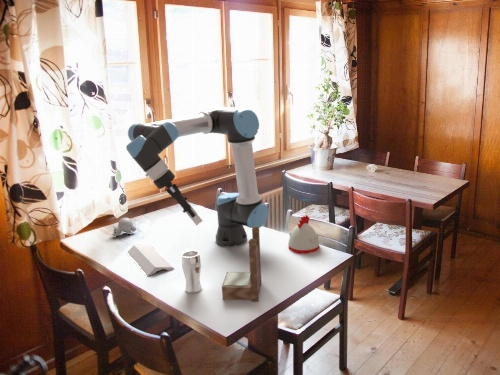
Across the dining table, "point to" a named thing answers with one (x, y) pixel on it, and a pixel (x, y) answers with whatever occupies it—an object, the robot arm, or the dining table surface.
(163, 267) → the crown molding
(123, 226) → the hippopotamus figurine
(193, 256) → the white tumbler cup
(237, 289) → the wooden l-shaped piece
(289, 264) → the dining table surface
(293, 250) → the kitchen timer
